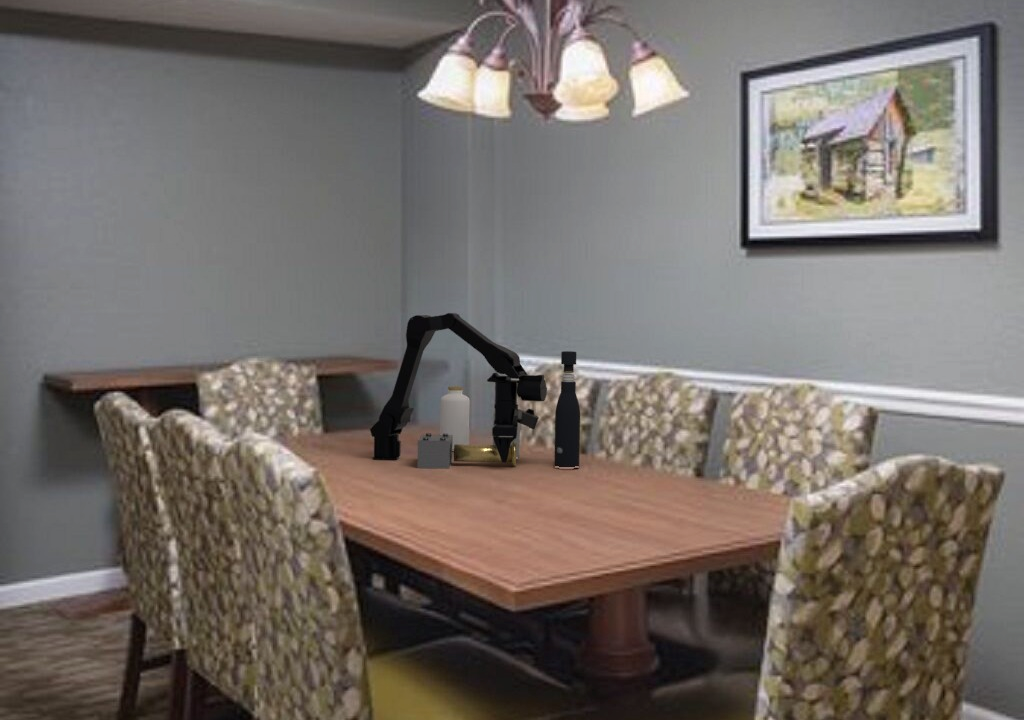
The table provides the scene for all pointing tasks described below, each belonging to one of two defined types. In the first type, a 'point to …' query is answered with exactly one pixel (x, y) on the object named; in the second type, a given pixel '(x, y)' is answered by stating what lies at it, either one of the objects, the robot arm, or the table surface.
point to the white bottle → (455, 416)
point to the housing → (435, 451)
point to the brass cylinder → (482, 453)
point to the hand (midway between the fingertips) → (504, 460)
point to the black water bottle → (567, 417)
